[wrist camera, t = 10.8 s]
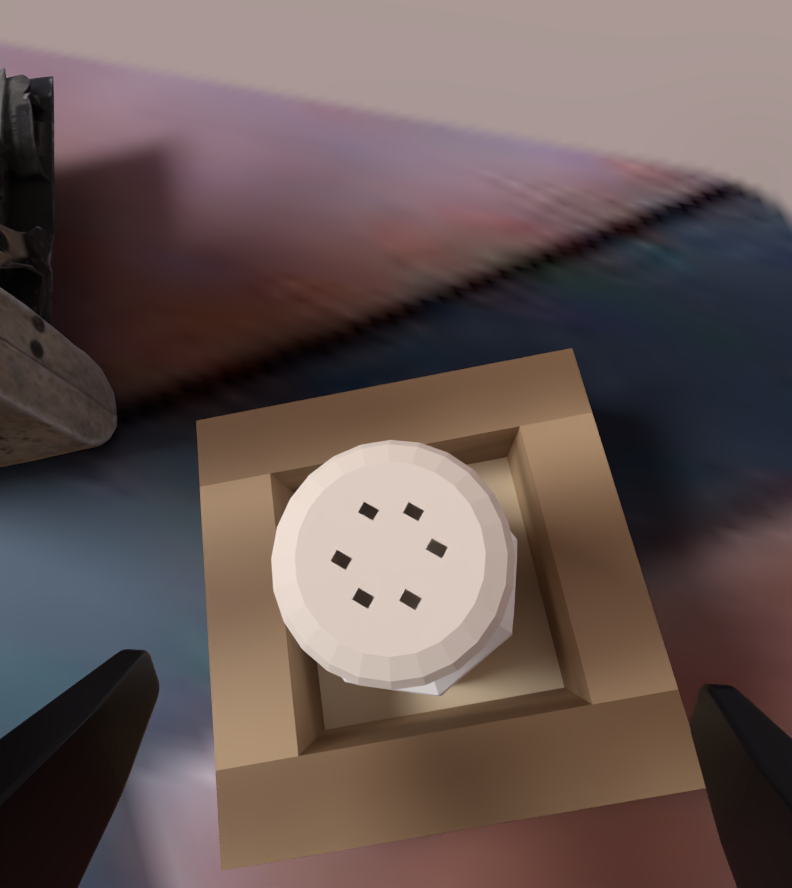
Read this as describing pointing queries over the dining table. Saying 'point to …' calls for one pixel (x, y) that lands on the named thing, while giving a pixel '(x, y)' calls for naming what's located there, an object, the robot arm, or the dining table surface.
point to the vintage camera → (38, 297)
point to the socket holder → (485, 686)
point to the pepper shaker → (396, 567)
